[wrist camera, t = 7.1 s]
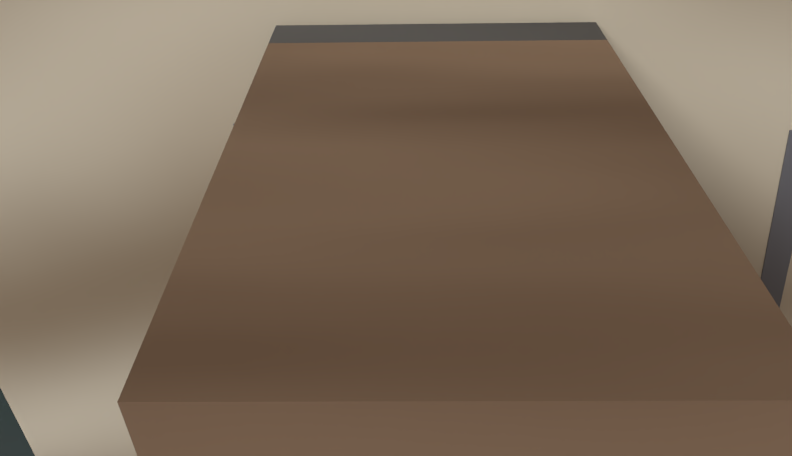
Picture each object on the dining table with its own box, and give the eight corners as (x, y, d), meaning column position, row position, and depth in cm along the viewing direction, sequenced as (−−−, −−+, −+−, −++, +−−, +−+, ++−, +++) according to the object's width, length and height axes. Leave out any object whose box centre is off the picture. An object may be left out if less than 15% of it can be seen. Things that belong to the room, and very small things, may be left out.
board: (888, 466, 17) (928, 525, 16) (98, 476, 17) (76, 535, 16) (1344, -232, 9) (1503, -225, 7) (-200, -203, 9) (-298, -190, 7)
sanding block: (526, 464, 14) (592, 859, 9) (327, 463, 14) (287, 857, 9) (595, 21, 9) (838, 398, 4) (276, 25, 9) (117, 401, 4)
